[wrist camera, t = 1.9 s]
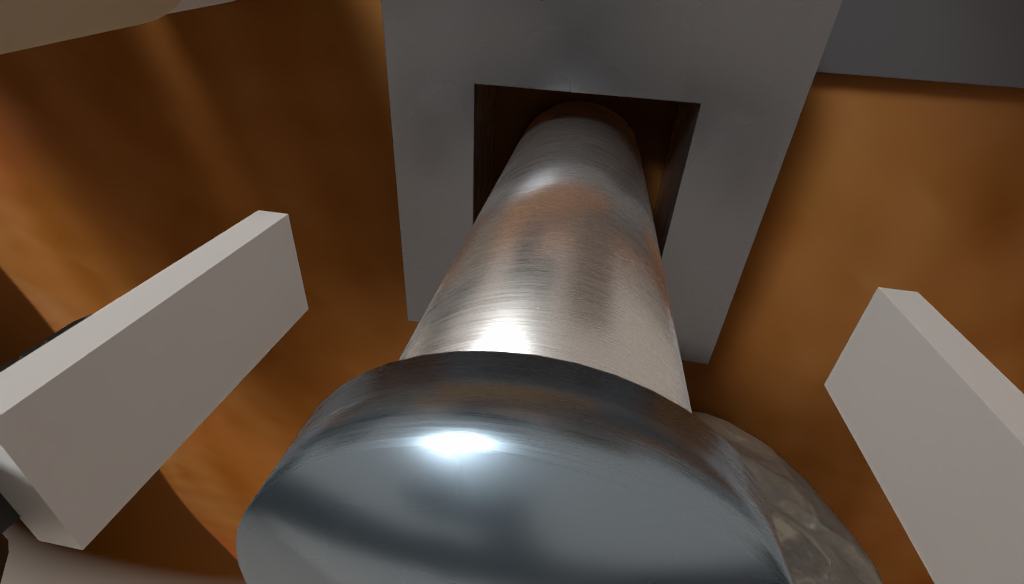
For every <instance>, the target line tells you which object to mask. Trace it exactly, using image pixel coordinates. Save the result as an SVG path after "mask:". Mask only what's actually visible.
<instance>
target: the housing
mask: <svg viewBox="0 0 1024 584" xmlns="http://www.w3.org/2000/svg"><path fill="white" fill-rule="evenodd" d="M381 3H382V15H383V27H384V39H385V51H386V63H387V75H388V87H389V99H390V111H391V123H392V135H393V148H394V160H395V172H396V184H397V196H398V208H399V220H400V232H401V244H402V256H403V268H404V280H405V292H406V304H407V316H408V321H413V322H420V321H421V319H422V317H423V315H424V313H425V311H426V310H427V308H428V306H429V304H430V302H431V301H432V299H433V297H434V295H435V293H436V292H437V290H438V288H439V286H440V284H441V282H442V281H443V279H444V277H445V275H446V273H447V272H448V270H449V268H450V266H451V264H452V263H453V261H454V259H455V257H456V255H457V253H458V252H459V250H460V248H461V246H462V244H463V243H464V241H465V239H466V237H467V235H468V234H469V232H470V230H471V228H472V226H473V224H474V223H475V221H476V219H477V217H478V215H479V214H480V212H481V210H482V208H483V206H484V205H485V203H486V201H487V199H488V197H489V195H490V194H491V192H492V189H493V158H494V126H495V94H496V85H497V86H509V87H520V88H531V89H543V90H554V91H566V92H577V93H588V94H600V95H611V96H623V97H634V98H645V99H657V100H668V101H680V104H679V108H678V112H677V117H676V121H675V125H674V130H673V134H672V138H671V142H670V147H669V151H668V155H667V160H666V164H665V168H664V173H663V177H662V181H661V185H660V190H659V194H658V198H657V203H656V207H655V211H654V216H653V221H654V226H655V231H656V236H657V241H658V246H659V251H660V256H661V261H662V266H663V271H664V276H665V281H666V286H667V291H668V296H669V301H670V306H671V311H672V316H673V321H674V326H675V331H676V336H677V341H678V346H679V351H680V356H681V360H682V361H689V362H696V363H703V364H709V361H710V358H711V356H712V353H713V350H714V348H715V345H716V342H717V339H718V337H719V334H720V331H721V329H722V326H723V323H724V320H725V318H726V315H727V312H728V310H729V307H730V304H731V301H732V299H733V296H734V293H735V291H736V288H737V285H738V282H739V280H740V277H741V274H742V272H743V269H744V266H745V263H746V261H747V258H748V255H749V253H750V250H751V247H752V244H753V242H754V239H755V236H756V234H757V231H758V228H759V226H760V223H761V220H762V217H763V215H764V212H765V209H766V207H767V204H768V201H769V198H770V196H771V193H772V190H773V188H774V185H775V182H776V179H777V177H778V174H779V171H780V169H781V166H782V163H783V160H784V158H785V155H786V152H787V150H788V147H789V144H790V141H791V139H792V136H793V133H794V131H795V128H796V125H797V122H798V120H799V117H800V114H801V112H802V109H803V106H804V103H805V101H806V98H807V95H808V93H809V90H810V87H811V85H812V82H813V79H814V76H815V74H816V71H817V68H818V66H819V63H820V60H821V57H822V55H823V52H824V49H825V47H826V44H827V41H828V38H829V36H830V33H831V30H832V28H833V25H834V22H835V19H836V17H837V14H838V11H839V9H840V6H841V3H842V0H381Z"/></svg>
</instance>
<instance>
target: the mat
mask: <svg viewBox="0 0 1024 584" xmlns="http://www.w3.org/2000/svg"><path fill="white" fill-rule="evenodd" d="M816 72H825V73H837V74H850V75H863V76H875V77H888V78H901V79H913V80H926V81H939V82H952V83H964V84H977V85H990V86H1002V87H1015V88H1024V0H842V3H841V6H840V9H839V11H838V14H837V17H836V19H835V22H834V25H833V28H832V30H831V33H830V36H829V38H828V41H827V44H826V47H825V49H824V52H823V55H822V57H821V60H820V63H819V66H818V68H817V71H816Z"/></svg>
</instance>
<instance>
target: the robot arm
mask: <svg viewBox="0 0 1024 584" xmlns="http://www.w3.org/2000/svg"><path fill="white" fill-rule="evenodd" d="M307 310H308V305H307V300H306V295H305V290H304V286H303V281H302V276H301V272H300V267H299V262H298V258H297V253H296V248H295V244H294V239H293V234H292V229H291V225H290V220H289V215H288V214H284V213H276V212H268V211H260V210H258V211H256V212H255V213H253V214H252V215H250V216H248V217H247V218H245V219H244V220H242V221H240V222H239V223H237V224H236V225H234V226H232V227H231V228H229V229H228V230H226V231H225V232H223V233H221V234H220V235H218V236H217V237H215V238H213V239H212V240H210V241H209V242H207V243H205V244H204V245H202V246H201V247H199V248H197V249H196V250H194V251H193V252H191V253H190V254H188V255H186V256H185V257H183V258H182V259H180V260H178V261H177V262H175V263H174V264H172V265H170V266H169V267H167V268H166V269H164V270H162V271H161V272H159V273H158V274H156V275H155V276H153V277H151V278H150V279H148V280H147V281H145V282H143V283H142V284H140V285H139V286H137V287H135V288H134V289H132V290H131V291H129V292H127V293H126V294H124V295H123V296H121V297H119V298H118V299H116V300H115V301H113V302H112V303H110V304H108V305H107V306H105V307H104V308H102V309H100V310H99V311H97V312H96V313H94V314H91V315H89V316H86V317H84V318H81V319H79V320H76V321H74V322H72V323H71V324H69V325H67V326H66V327H64V328H62V329H61V330H59V331H58V332H56V333H54V334H53V335H51V336H50V337H48V338H46V339H45V340H44V343H43V344H37V345H35V346H33V347H32V348H30V349H29V350H27V351H25V352H24V353H22V354H21V355H19V356H20V357H19V359H18V360H15V359H12V360H11V361H9V362H8V363H6V364H4V365H3V366H1V367H0V582H1V579H2V575H3V571H4V567H5V563H6V560H7V556H8V553H9V550H8V540H7V539H6V538H5V536H4V535H3V534H2V533H3V532H4V531H5V530H6V529H7V528H8V527H9V526H11V525H12V524H13V523H14V522H15V521H16V520H17V519H18V518H20V519H21V520H22V521H23V522H24V524H25V525H26V526H27V527H28V528H29V529H30V531H32V533H33V534H34V535H35V536H36V538H37V539H38V540H40V541H44V542H49V543H53V544H58V545H63V546H67V547H72V548H76V549H81V550H83V549H84V548H85V547H86V546H87V545H88V544H89V543H90V542H91V541H92V540H93V539H94V537H95V536H96V535H97V534H98V533H99V532H100V531H101V530H102V529H103V528H104V527H105V526H106V525H107V524H108V523H109V521H110V520H111V519H112V518H113V517H114V516H115V515H116V514H117V513H118V512H119V511H120V510H121V509H122V507H124V505H125V504H126V503H127V502H128V501H129V500H130V499H131V498H132V497H133V496H134V495H135V494H136V492H137V491H139V489H140V488H141V487H142V486H143V485H144V484H145V483H146V482H147V481H148V480H149V478H151V477H152V476H153V475H154V473H155V472H156V471H157V470H158V469H159V468H160V467H161V466H162V465H163V464H164V463H165V462H166V461H167V460H168V459H169V457H170V456H171V455H172V454H173V453H174V452H175V451H176V450H177V449H178V448H179V447H180V446H181V445H182V444H183V443H184V441H185V440H186V439H187V438H188V437H189V436H190V435H191V434H192V433H193V432H194V431H195V430H196V429H197V428H198V427H199V425H200V424H201V423H202V422H203V421H204V420H205V419H206V418H207V417H208V416H209V415H210V414H211V413H212V412H213V411H214V409H215V408H216V407H217V406H218V405H219V404H220V403H221V402H222V401H223V400H224V399H225V398H226V397H227V396H228V395H229V393H230V392H231V391H232V390H233V389H234V388H235V387H236V386H237V385H238V384H239V383H240V382H241V381H242V380H243V379H244V377H245V376H246V375H247V374H248V373H249V372H250V371H251V370H252V369H253V368H254V367H255V366H256V365H257V364H258V363H259V361H260V360H261V359H262V358H263V357H264V356H265V355H266V354H267V353H268V352H269V351H270V350H271V349H272V348H273V347H274V345H275V344H276V343H277V342H278V341H279V340H280V339H281V338H282V337H283V336H284V335H285V334H286V333H287V332H288V331H289V329H290V328H291V327H292V326H293V325H294V324H295V323H296V322H297V321H298V320H299V319H300V318H301V317H302V316H303V315H304V313H305V312H306V311H307ZM824 386H825V387H826V389H827V391H828V393H829V395H830V396H831V398H832V400H833V402H834V404H835V405H836V407H837V409H838V411H839V413H840V414H841V416H842V418H843V420H844V422H845V423H846V425H847V427H848V429H849V431H850V432H851V434H852V436H853V438H854V440H855V441H856V443H857V445H858V447H859V449H860V450H861V452H862V454H863V456H864V458H865V459H866V461H867V463H868V465H869V467H870V468H871V470H872V472H873V474H874V476H875V477H876V479H877V481H878V483H879V485H880V486H881V488H882V490H883V492H884V494H885V495H886V497H887V499H888V501H889V503H890V504H891V506H892V508H893V510H894V512H895V513H896V515H897V517H898V519H899V521H900V522H901V524H902V526H903V528H904V530H905V531H906V533H907V535H908V537H909V539H910V540H911V542H912V544H913V546H914V548H915V549H916V551H917V553H918V555H919V557H920V558H921V560H922V562H923V564H924V566H925V567H926V569H927V571H928V573H929V575H930V576H931V578H932V580H933V582H934V584H1024V394H1023V393H1022V392H1021V391H1020V390H1019V389H1018V388H1017V387H1016V386H1015V385H1014V384H1013V383H1012V382H1011V381H1010V380H1009V379H1008V378H1007V377H1005V376H1004V375H1003V374H1002V373H1001V372H1000V371H999V370H998V369H997V368H996V367H995V366H994V365H993V364H992V363H991V362H990V361H989V360H988V359H987V358H986V357H985V356H984V355H983V354H982V353H981V352H979V351H978V350H977V349H976V348H975V347H974V346H973V345H972V344H971V343H970V342H969V341H968V340H967V339H966V338H965V337H964V336H963V335H962V334H961V333H960V332H959V331H958V330H957V329H956V328H955V327H954V326H952V325H951V324H950V323H949V322H948V321H947V320H946V319H945V318H944V317H943V316H942V315H941V314H940V313H939V312H938V311H937V310H936V309H935V308H934V307H933V306H932V305H931V304H930V303H929V302H928V301H927V300H925V299H924V298H923V297H922V296H921V295H920V294H919V293H918V292H913V291H905V290H897V289H889V288H881V287H878V288H877V290H876V292H875V293H874V295H873V297H872V299H871V301H870V302H869V304H868V306H867V308H866V310H865V312H864V313H863V315H862V317H861V319H860V321H859V322H858V324H857V326H856V328H855V330H854V331H853V333H852V335H851V337H850V339H849V341H848V342H847V344H846V346H845V348H844V350H843V351H842V353H841V355H840V357H839V359H838V360H837V362H836V364H835V366H834V368H833V370H832V371H831V373H830V375H829V377H828V379H827V380H826V382H825V384H824Z"/></svg>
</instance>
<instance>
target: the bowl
mask: <svg viewBox="0 0 1024 584" xmlns="http://www.w3.org/2000/svg"><path fill="white" fill-rule="evenodd" d="M692 414H694V415H695V416H696V417H698V418H699V419H700V420H702V421H703V422H704V423H706V424H707V425H709V426H710V427H711V428H713V429H714V430H715V431H716V432H717V433H718V434H719V435H720V436H721V437H723V438H724V439H725V440H726V441H727V442H728V443H729V444H730V445H731V446H732V447H733V448H734V449H735V450H736V451H737V452H738V453H739V455H740V456H741V457H742V459H743V460H744V461H745V463H746V464H747V465H748V467H749V468H750V469H751V471H752V472H753V473H754V475H755V476H756V478H757V480H758V482H759V484H760V486H761V489H762V491H763V493H764V495H765V497H766V499H767V502H768V506H769V509H770V512H771V515H772V518H773V522H774V525H775V528H776V531H777V534H778V538H779V541H780V544H781V547H782V550H783V554H784V557H785V560H786V563H787V566H788V570H789V573H790V576H791V579H792V583H793V584H883V582H882V580H881V578H880V576H879V574H878V572H877V570H876V568H875V566H874V564H873V562H872V561H871V560H870V558H869V557H868V556H867V554H866V553H865V551H864V550H863V549H862V547H861V546H860V544H859V543H858V542H857V540H856V539H855V538H854V536H853V535H852V534H851V532H850V531H849V530H848V529H847V527H846V526H845V525H844V524H843V523H842V522H841V521H840V519H839V518H838V517H837V516H836V515H835V514H834V513H833V512H832V510H831V509H830V508H829V507H828V506H827V504H826V503H825V502H824V501H823V500H822V498H821V497H820V496H819V495H818V494H817V492H816V491H815V490H814V489H813V488H812V487H811V485H810V484H809V483H808V482H807V481H806V480H805V479H804V478H803V477H802V476H801V475H799V474H798V473H797V472H796V471H795V470H794V469H793V468H792V467H791V466H790V465H789V464H788V463H787V462H786V461H785V460H784V459H782V458H781V457H780V456H779V455H777V454H776V453H775V452H774V450H773V449H772V448H770V447H769V446H768V445H766V444H765V443H763V442H762V441H760V440H759V439H757V438H755V437H754V436H752V435H750V434H748V433H746V432H745V431H743V430H741V429H739V428H738V427H736V426H735V425H733V424H731V423H730V422H728V421H726V420H723V419H720V418H717V417H715V416H712V415H709V414H706V413H702V412H694V411H692Z"/></svg>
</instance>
